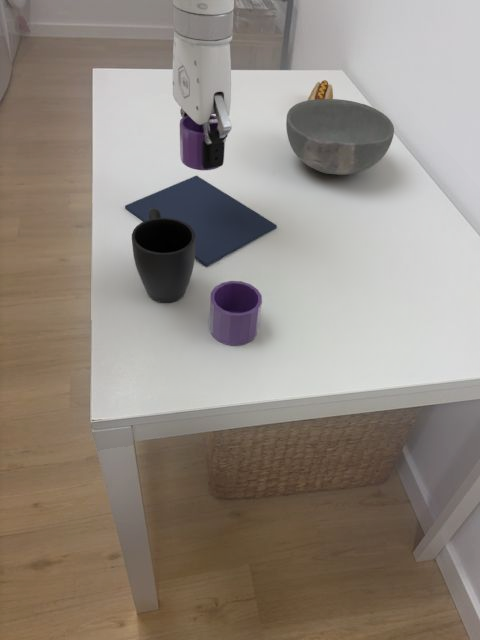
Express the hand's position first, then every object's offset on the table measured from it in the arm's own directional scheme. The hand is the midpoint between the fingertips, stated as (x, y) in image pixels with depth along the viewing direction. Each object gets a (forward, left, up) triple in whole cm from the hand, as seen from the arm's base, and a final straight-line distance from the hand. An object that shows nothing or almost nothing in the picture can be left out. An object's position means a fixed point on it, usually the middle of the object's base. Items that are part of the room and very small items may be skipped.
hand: (202, 153), depth 80 cm
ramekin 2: (+22, -14, -12) cm, 29 cm away
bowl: (+3, +32, -12) cm, 34 cm away
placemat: (0, 0, -12) cm, 12 cm away
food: (-15, +50, -12) cm, 53 cm away
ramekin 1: (0, 0, -1) cm, 1 cm away
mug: (+8, -15, -12) cm, 21 cm away
